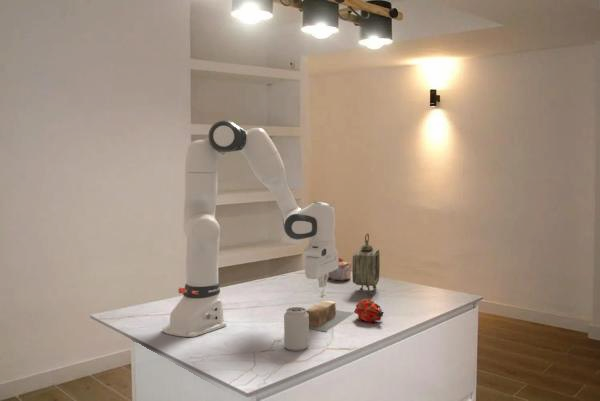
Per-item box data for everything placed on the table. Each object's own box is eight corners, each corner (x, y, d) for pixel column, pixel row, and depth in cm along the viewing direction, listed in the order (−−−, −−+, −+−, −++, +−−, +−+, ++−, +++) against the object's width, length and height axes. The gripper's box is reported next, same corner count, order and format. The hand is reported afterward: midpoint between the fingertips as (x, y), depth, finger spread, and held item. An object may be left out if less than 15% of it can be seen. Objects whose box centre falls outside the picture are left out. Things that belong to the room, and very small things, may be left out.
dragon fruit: (357, 321, 204) (381, 334, 194) (344, 311, 199) (368, 324, 189) (369, 301, 205) (393, 313, 196) (357, 290, 200) (381, 302, 191)
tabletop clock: (373, 296, 231) (373, 236, 229) (351, 295, 234) (351, 235, 232) (379, 288, 245) (379, 231, 243) (359, 287, 248) (359, 230, 245)
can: (308, 343, 176) (308, 305, 175) (309, 351, 169) (309, 312, 168) (284, 343, 176) (283, 306, 175) (284, 352, 168) (284, 313, 167)
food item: (354, 279, 263) (354, 258, 262) (343, 282, 257) (343, 261, 256) (331, 275, 272) (331, 255, 271) (320, 278, 266) (320, 257, 265)
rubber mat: (326, 332, 186) (326, 331, 186) (289, 326, 193) (289, 325, 193) (354, 313, 207) (354, 312, 207) (320, 308, 214) (320, 307, 214)
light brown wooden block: (335, 315, 204) (318, 326, 191) (323, 313, 206) (305, 324, 194) (335, 302, 203) (318, 312, 191) (323, 300, 206) (305, 310, 193)
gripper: (327, 242, 208) (327, 279, 210) (301, 251, 190) (301, 291, 192) (342, 244, 205) (342, 281, 207) (318, 253, 188) (318, 294, 189)
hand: (322, 286), depth 199 cm, fingers closed
